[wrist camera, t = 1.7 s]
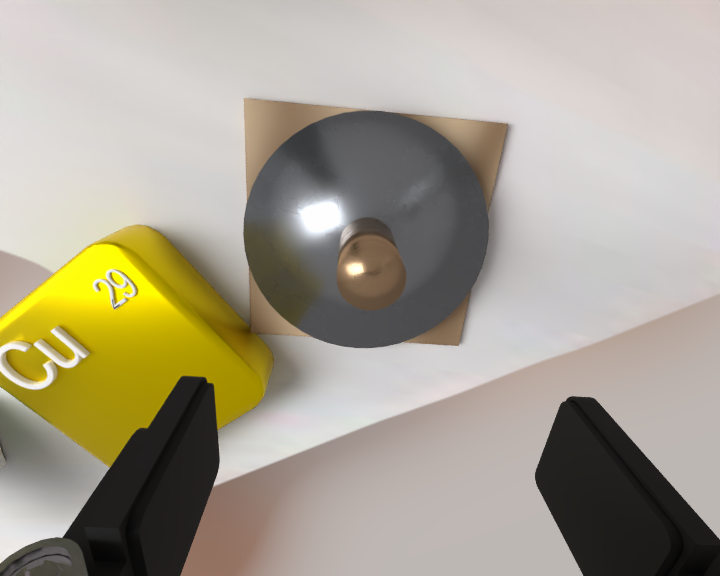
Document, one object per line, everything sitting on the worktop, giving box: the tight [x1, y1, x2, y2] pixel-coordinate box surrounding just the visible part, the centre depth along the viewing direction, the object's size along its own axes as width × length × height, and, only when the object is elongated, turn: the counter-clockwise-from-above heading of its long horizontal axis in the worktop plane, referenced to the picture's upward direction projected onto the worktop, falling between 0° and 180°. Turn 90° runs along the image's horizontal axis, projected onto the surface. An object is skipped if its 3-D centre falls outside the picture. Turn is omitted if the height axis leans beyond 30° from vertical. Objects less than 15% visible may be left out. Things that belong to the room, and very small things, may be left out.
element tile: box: [0, 225, 274, 467], centre depth 28 cm, size 15×15×5 cm
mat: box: [244, 98, 508, 346], centre depth 27 cm, size 16×16×1 cm
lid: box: [244, 111, 489, 348], centre depth 23 cm, size 16×16×7 cm
